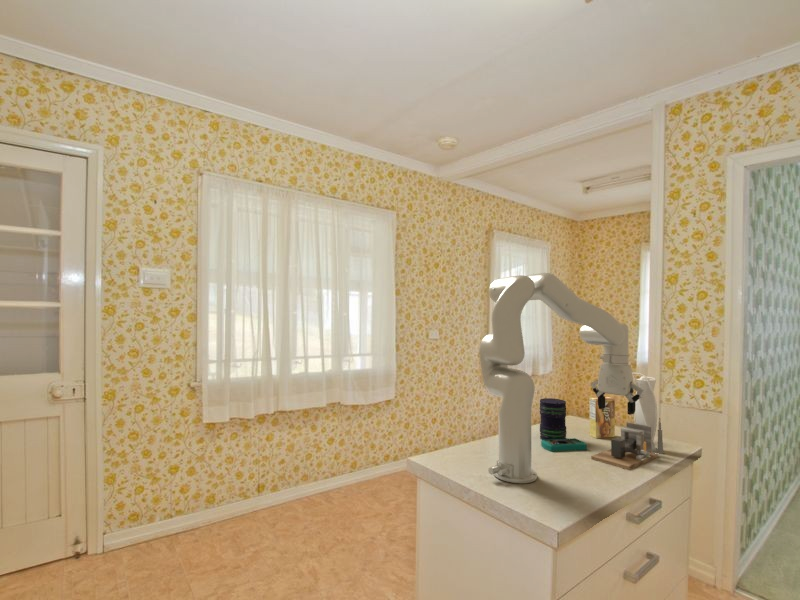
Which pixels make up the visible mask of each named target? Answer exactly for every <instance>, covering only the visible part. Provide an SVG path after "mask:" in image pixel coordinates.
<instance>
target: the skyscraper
mask: <svg viewBox="0 0 800 600" xmlns="http://www.w3.org/2000/svg"><path fill="white" fill-rule="evenodd" d="M632 374H633V382H634V384H635V385H637V386H639V387H640V388H642V389H643V390H644V392H643V394H642V396H641V398H640V399H638V400H637V401H636V402H635V412H634V414H633V419H634V420H633V421H634V424H639V425H644V426H649V427H651V447H652V453H659V454H658V455H665V453H664V442H663V429H662V422H661V417H659V419H658V407H657V405H658V404H657V401H656V396H655V393H654V391H655V386H656V381H657V379H656V378H655V377H651V376H646V375H644V374H643V373H640V372H632ZM635 375H639V376H640V377H639V378H636V377H635ZM636 394H637V391H636V392H635V395H636ZM658 420H659V422H658ZM657 427H658V429H657ZM656 431H657V447H656V444H655V442H654V441H655V435H656Z"/></svg>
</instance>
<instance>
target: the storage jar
mask: <svg viewBox="0 0 800 600" xmlns="http://www.w3.org/2000/svg"><path fill="white" fill-rule="evenodd" d="M539 415H540V423H539V434H540V436H539V439H540V440H541V441H542V440H555V439H567V426H566V417H567V401H566V400H564V399H559V398H553V397H552V398H551V397H550V398H548V397H546V398H540V399H539Z"/></svg>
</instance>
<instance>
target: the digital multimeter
mask: <svg viewBox="0 0 800 600" xmlns="http://www.w3.org/2000/svg"><path fill="white" fill-rule="evenodd" d="M540 445H541V447H542V449H545V450H547V451H548V452H550V453H551V452H567V451H568V452H570V451H571V452H572V451H587V450H588V447H587V446H588V444H587V443H585V442H584V441H582V440H580V439H578V438H566V439H555V440H541V442H540Z"/></svg>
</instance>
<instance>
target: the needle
mask: <svg viewBox="0 0 800 600" xmlns="http://www.w3.org/2000/svg"><path fill="white" fill-rule="evenodd" d="M640 453H641V454H644V455H646V454H647V451H646V442H644V450H640Z"/></svg>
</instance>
